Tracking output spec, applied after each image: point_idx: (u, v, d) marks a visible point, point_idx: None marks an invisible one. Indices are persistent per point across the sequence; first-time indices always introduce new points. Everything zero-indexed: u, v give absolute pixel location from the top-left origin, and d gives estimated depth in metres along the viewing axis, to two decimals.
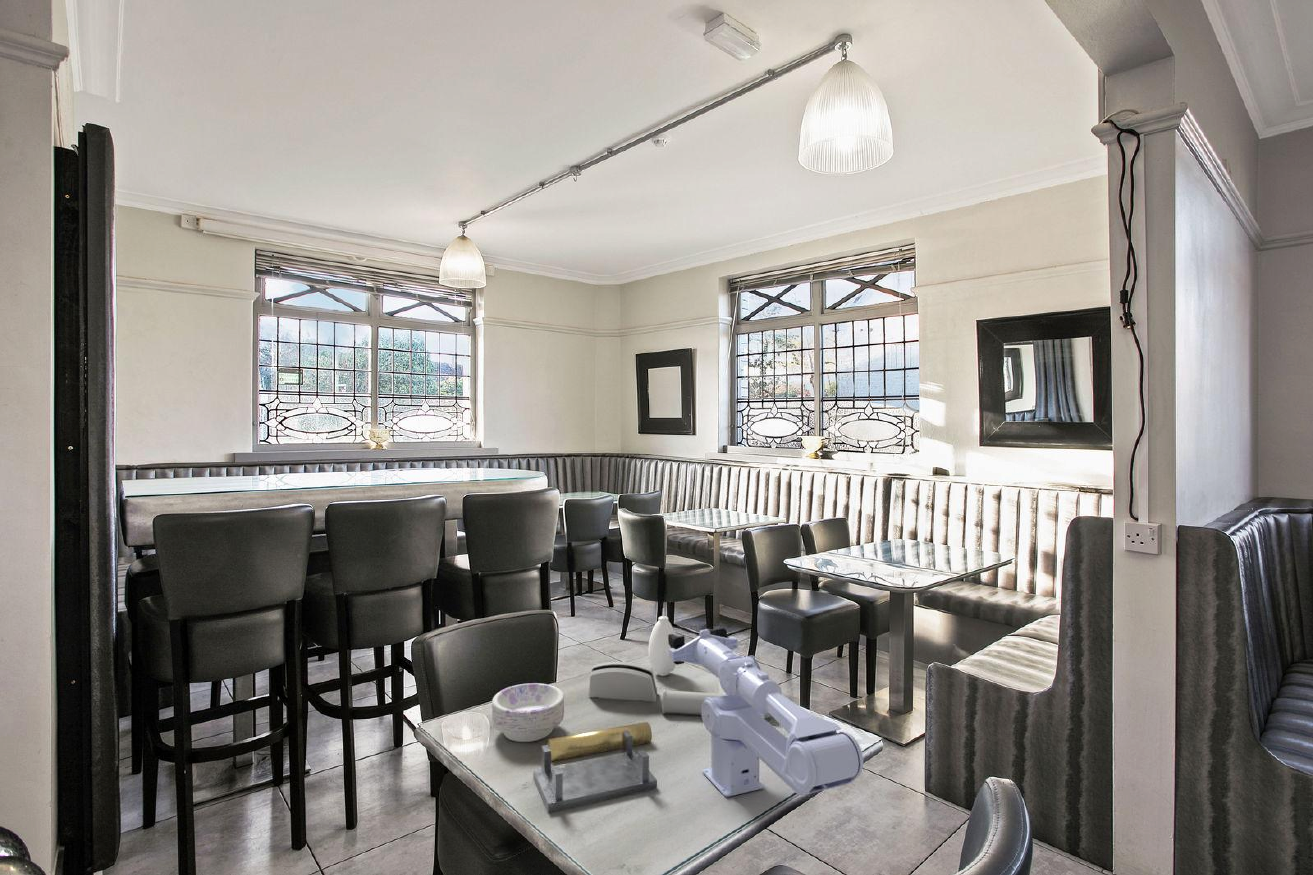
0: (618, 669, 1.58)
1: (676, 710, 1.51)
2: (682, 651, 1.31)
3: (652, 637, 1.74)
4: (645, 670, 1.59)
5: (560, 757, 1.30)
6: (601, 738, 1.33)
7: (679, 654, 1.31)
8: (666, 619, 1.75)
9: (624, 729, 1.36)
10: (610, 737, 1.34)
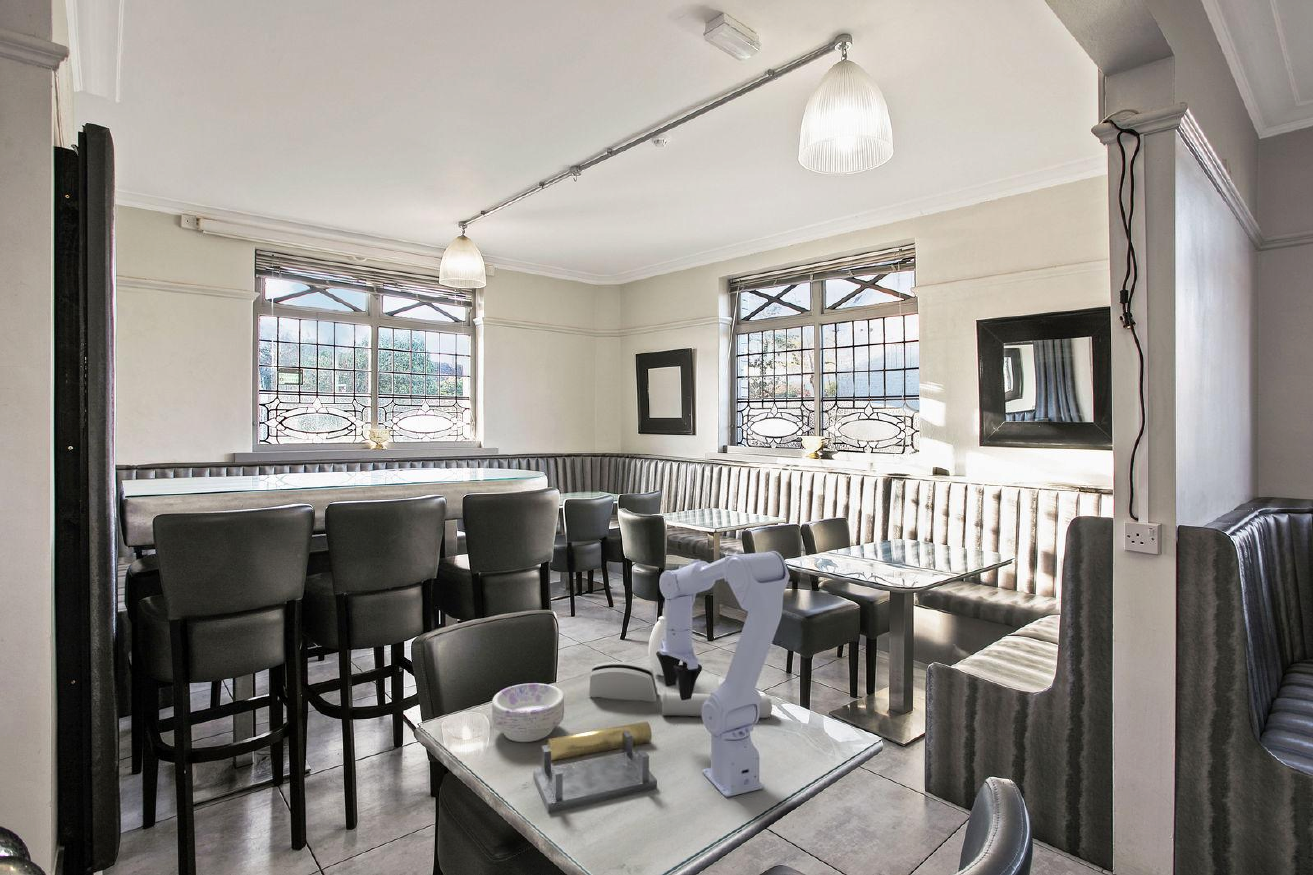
0: (618, 669, 1.58)
1: (676, 712, 1.50)
2: (686, 658, 1.33)
3: (652, 637, 1.74)
4: (645, 670, 1.59)
5: (560, 756, 1.30)
6: (600, 737, 1.34)
7: (689, 658, 1.33)
8: None
9: (624, 728, 1.36)
10: (609, 736, 1.34)
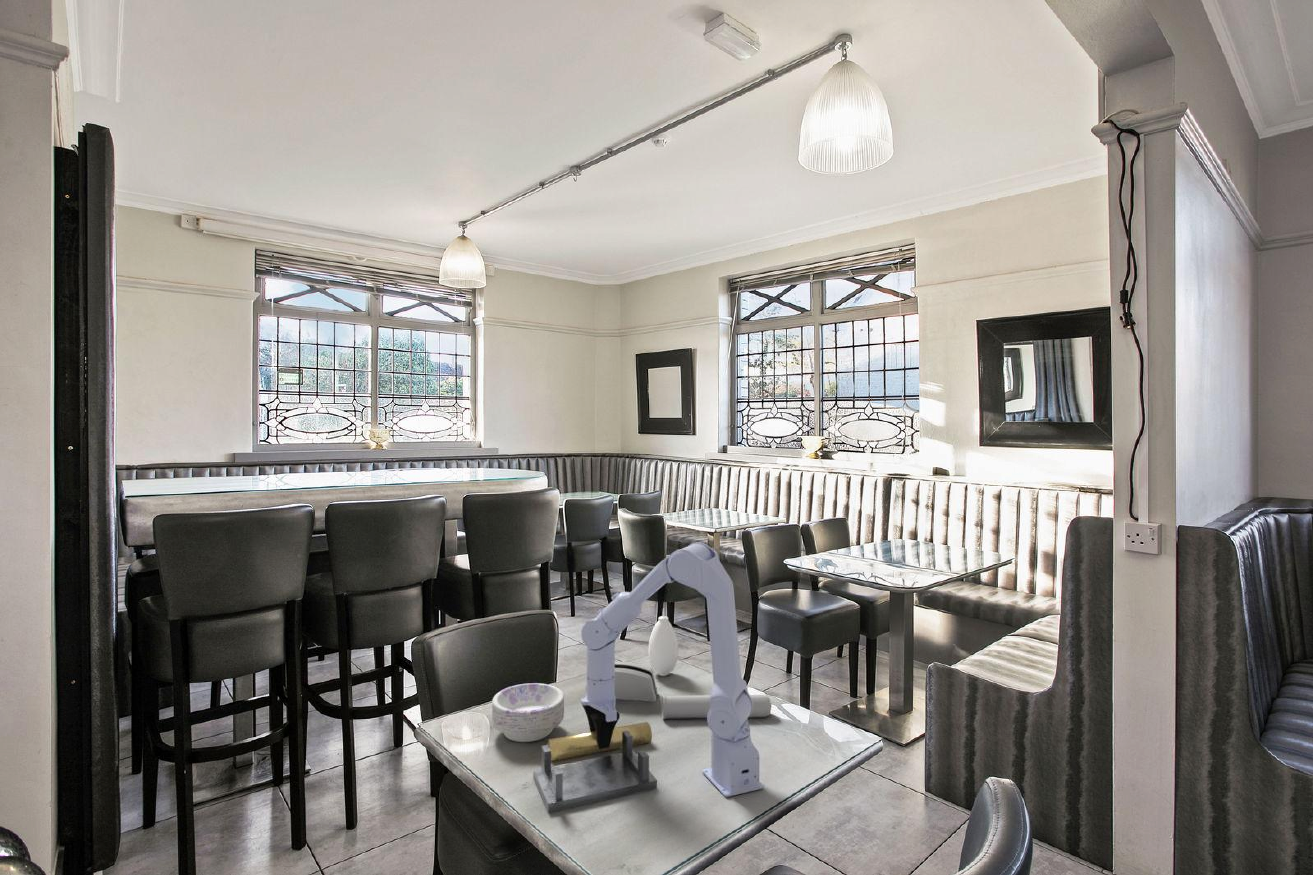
0: (618, 669, 1.58)
1: (677, 715, 1.48)
2: (605, 709, 1.30)
3: (652, 637, 1.74)
4: (645, 670, 1.59)
5: (560, 757, 1.30)
6: None
7: (608, 709, 1.29)
8: (666, 619, 1.75)
9: (624, 729, 1.36)
10: None
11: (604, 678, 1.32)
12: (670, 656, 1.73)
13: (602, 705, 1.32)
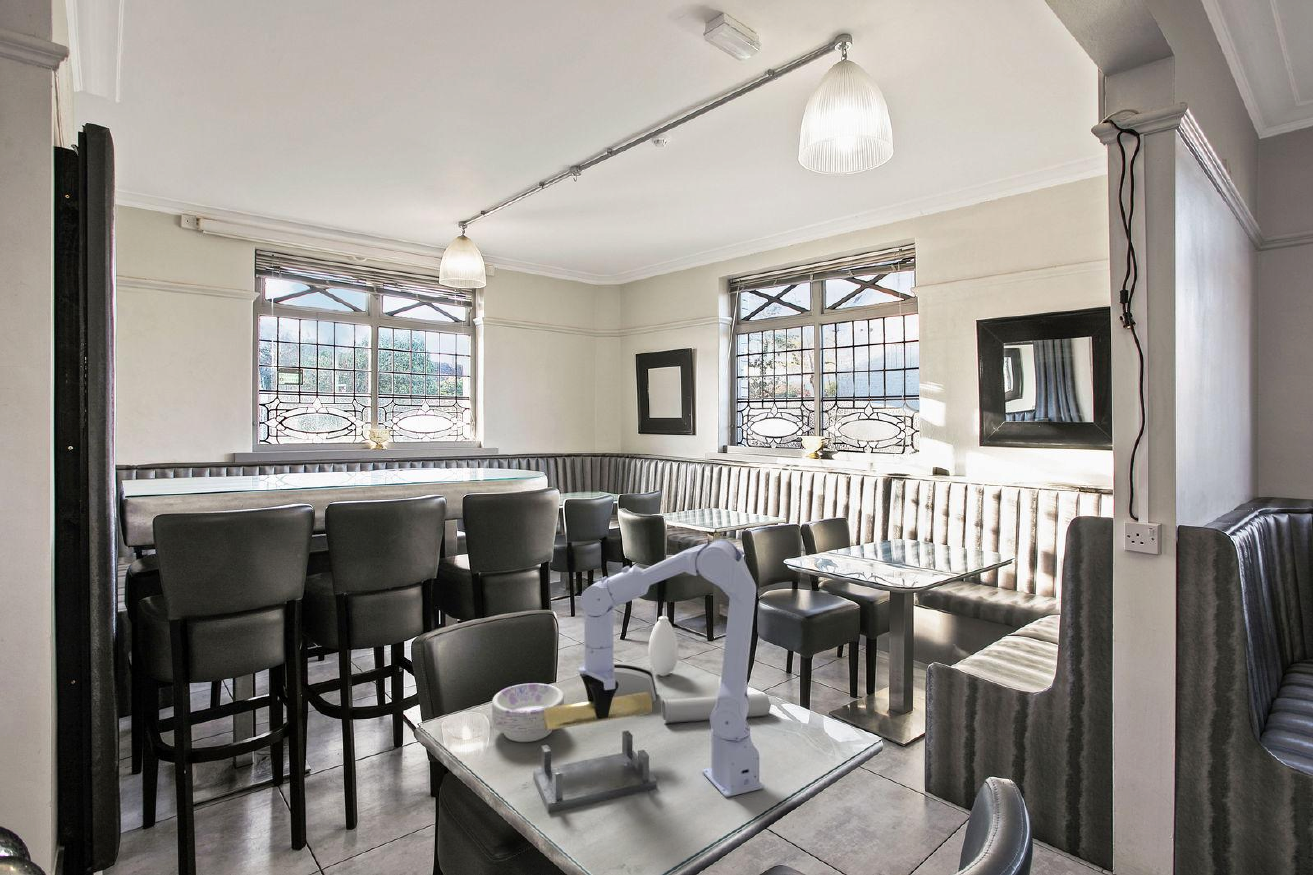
0: (617, 669, 1.58)
1: (680, 719, 1.46)
2: (604, 677, 1.25)
3: (652, 637, 1.74)
4: (644, 670, 1.59)
5: (557, 726, 1.25)
6: None
7: (607, 677, 1.25)
8: (666, 619, 1.75)
9: (623, 699, 1.31)
10: None
11: (605, 645, 1.28)
12: (670, 656, 1.73)
13: (600, 674, 1.27)
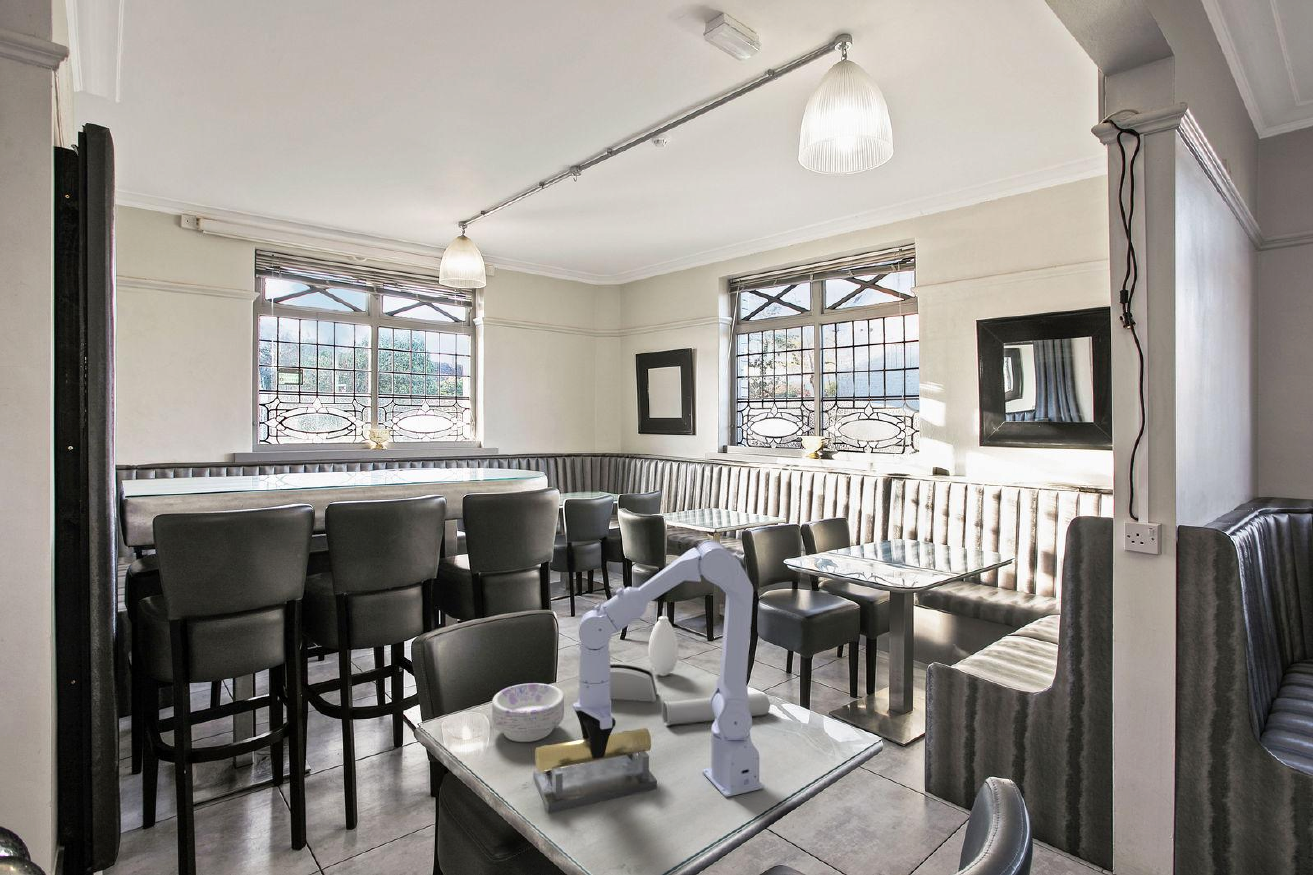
0: (617, 669, 1.58)
1: (682, 721, 1.45)
2: (600, 715, 1.17)
3: (652, 637, 1.74)
4: (644, 670, 1.59)
5: (549, 768, 1.17)
6: None
7: (603, 715, 1.16)
8: (666, 619, 1.75)
9: (620, 736, 1.23)
10: None
11: (605, 679, 1.20)
12: (670, 656, 1.73)
13: (596, 710, 1.19)
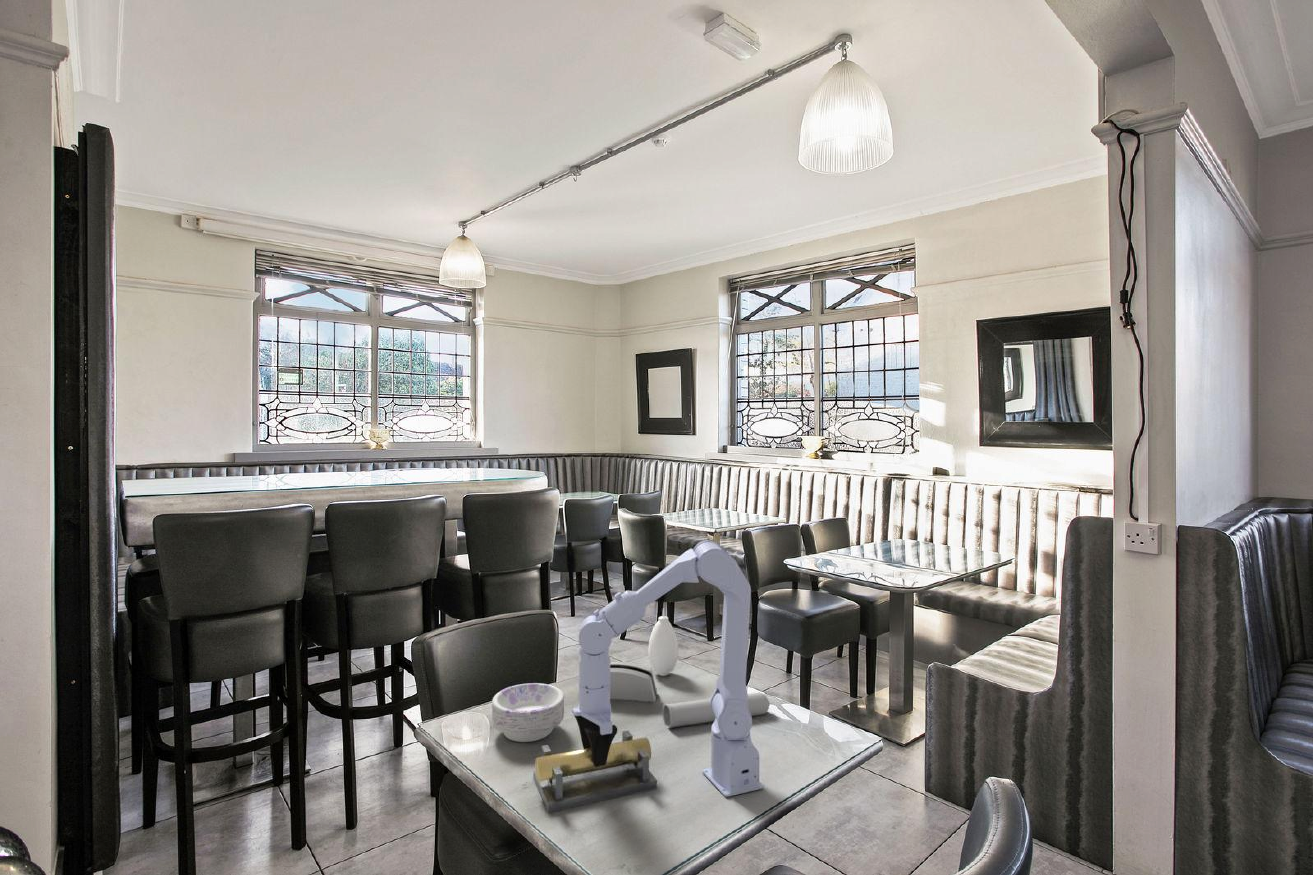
0: (617, 669, 1.58)
1: (684, 723, 1.44)
2: (600, 721, 1.17)
3: (652, 637, 1.74)
4: (644, 670, 1.59)
5: (549, 778, 1.17)
6: None
7: (603, 721, 1.16)
8: (666, 619, 1.75)
9: (620, 746, 1.23)
10: None
11: (605, 684, 1.20)
12: (670, 656, 1.73)
13: (596, 716, 1.19)
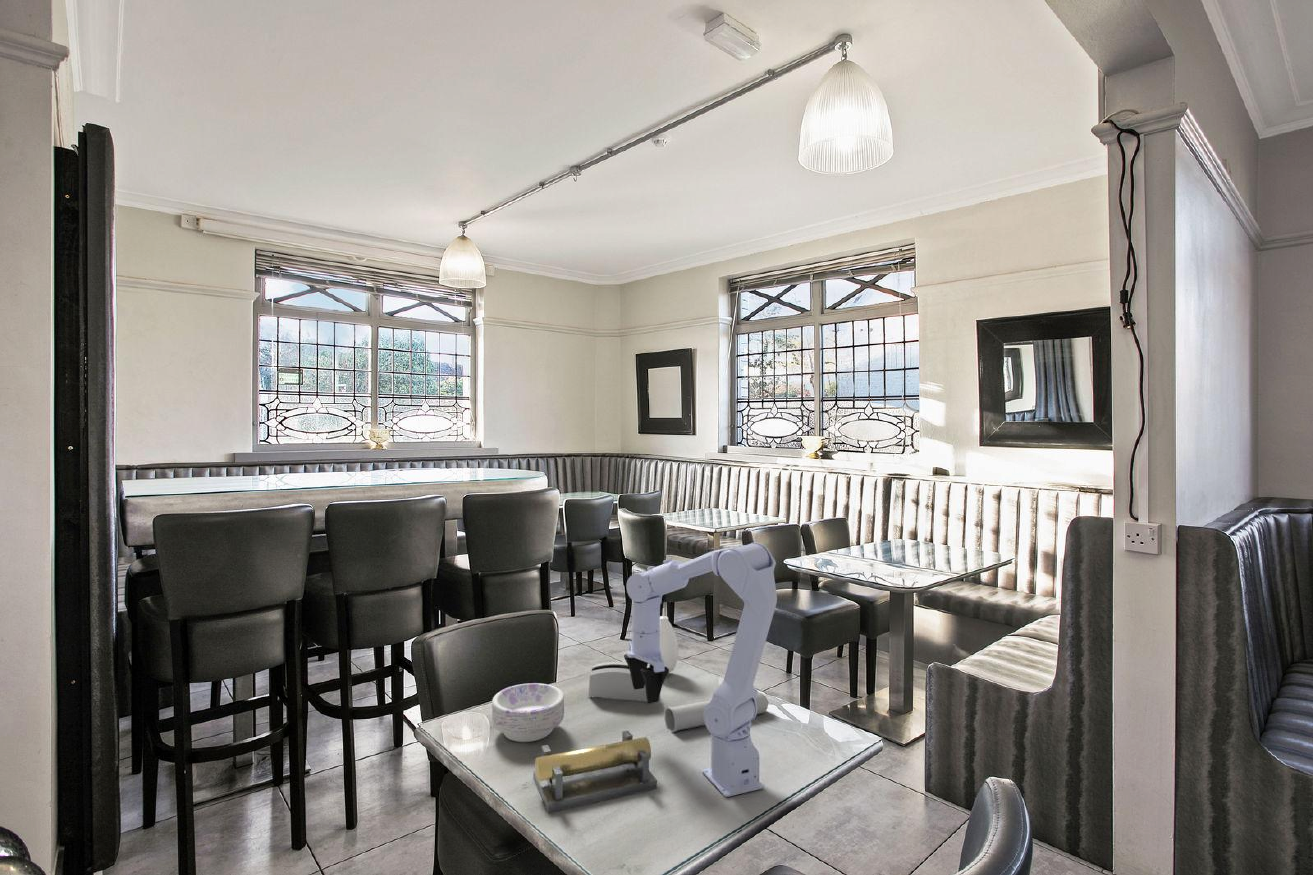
0: (617, 669, 1.58)
1: (688, 725, 1.43)
2: (653, 661, 1.32)
3: None
4: None
5: (549, 777, 1.17)
6: (594, 755, 1.20)
7: (656, 660, 1.32)
8: (666, 619, 1.75)
9: (620, 745, 1.23)
10: (604, 754, 1.21)
11: (646, 631, 1.34)
12: (670, 656, 1.73)
13: (649, 657, 1.34)
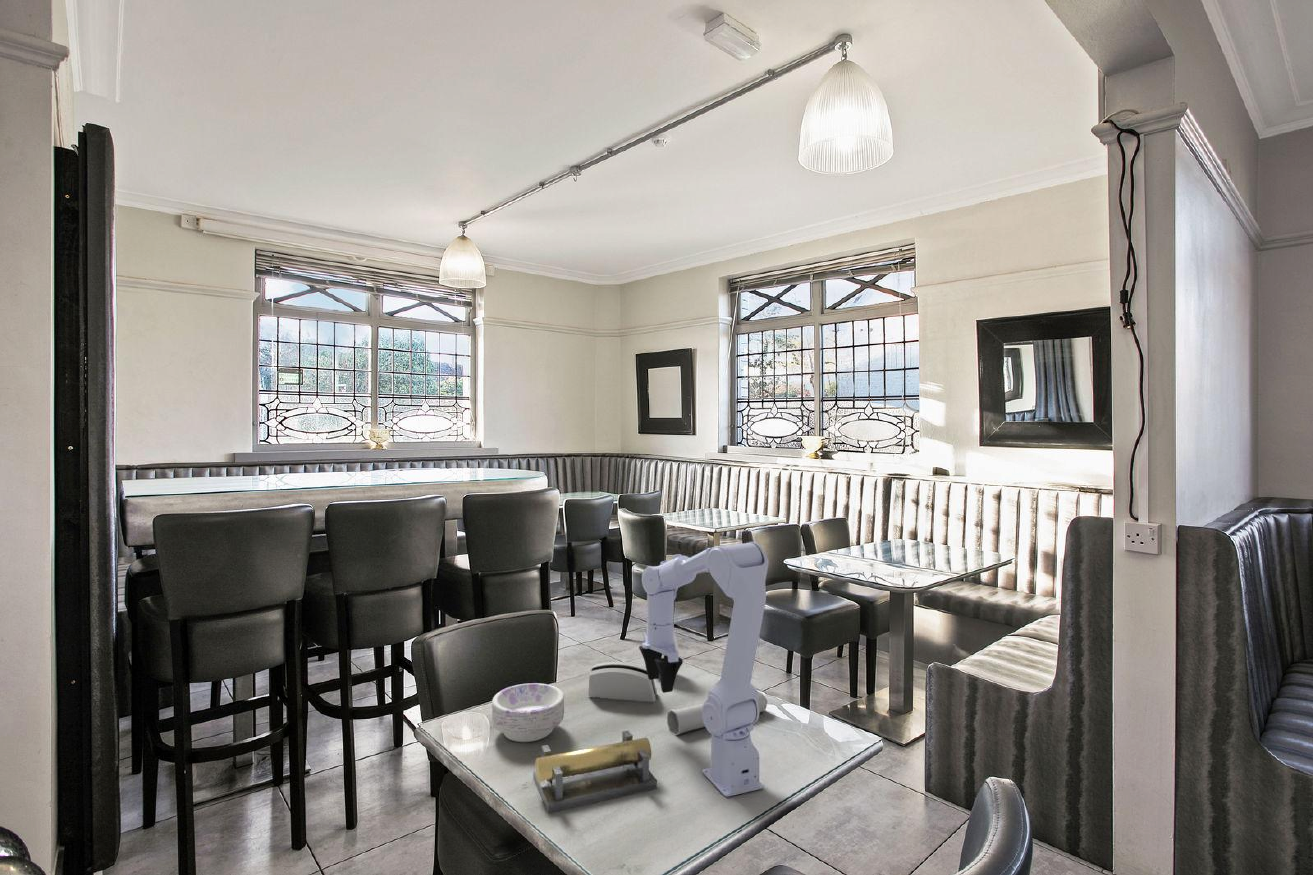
0: (617, 669, 1.58)
1: (691, 728, 1.42)
2: None
3: None
4: (644, 670, 1.59)
5: (549, 779, 1.17)
6: (595, 757, 1.20)
7: (670, 651, 1.37)
8: None
9: (621, 747, 1.23)
10: (605, 756, 1.21)
11: (658, 623, 1.39)
12: None
13: (663, 648, 1.39)
